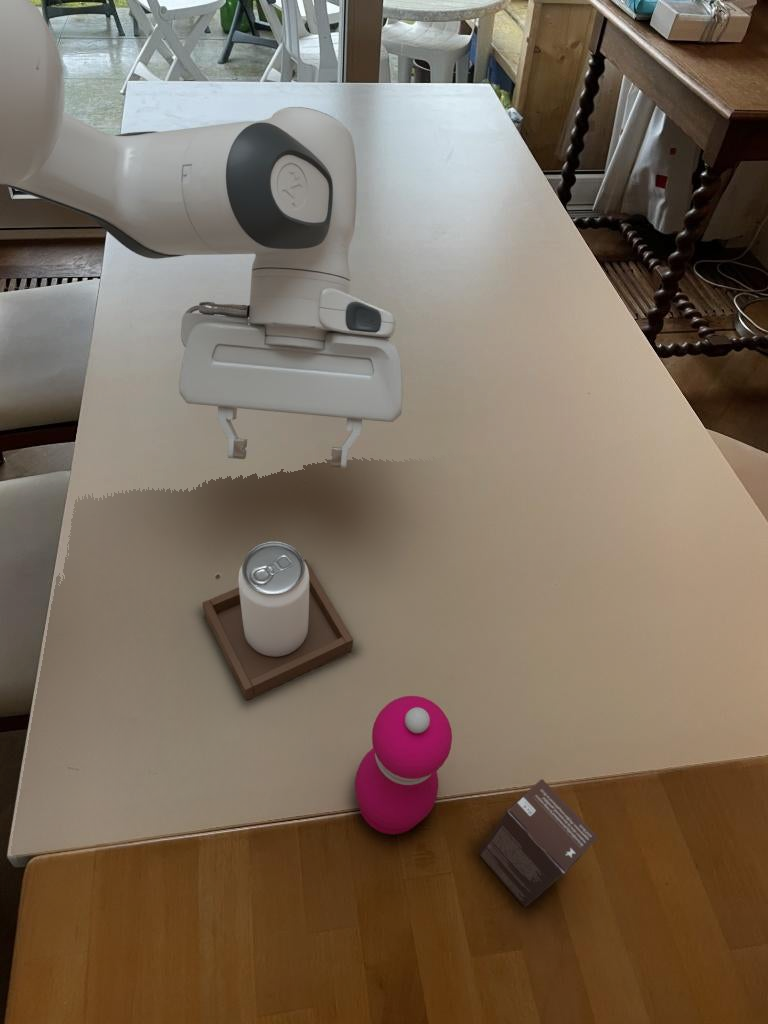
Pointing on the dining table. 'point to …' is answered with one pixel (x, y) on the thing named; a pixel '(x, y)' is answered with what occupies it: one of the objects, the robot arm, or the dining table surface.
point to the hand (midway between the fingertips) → (287, 462)
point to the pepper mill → (403, 764)
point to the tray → (268, 672)
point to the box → (535, 843)
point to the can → (274, 598)
